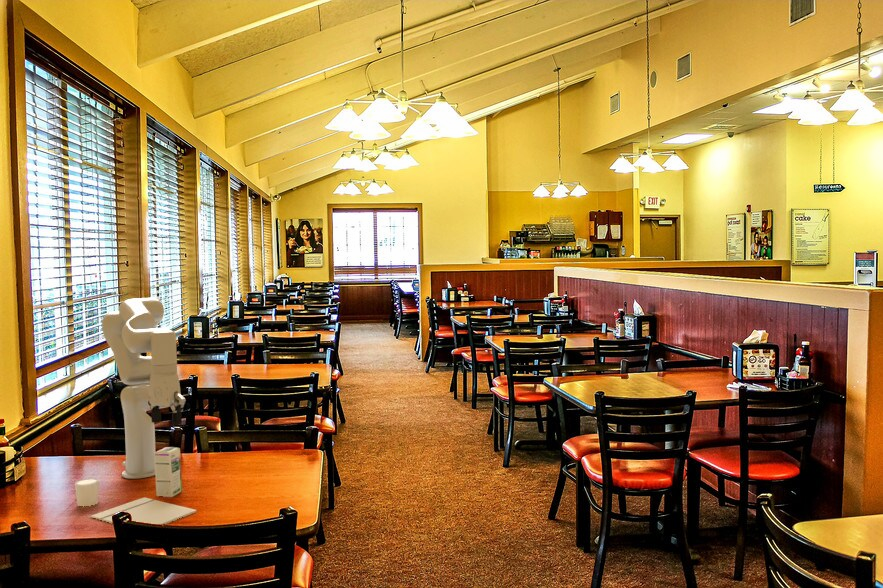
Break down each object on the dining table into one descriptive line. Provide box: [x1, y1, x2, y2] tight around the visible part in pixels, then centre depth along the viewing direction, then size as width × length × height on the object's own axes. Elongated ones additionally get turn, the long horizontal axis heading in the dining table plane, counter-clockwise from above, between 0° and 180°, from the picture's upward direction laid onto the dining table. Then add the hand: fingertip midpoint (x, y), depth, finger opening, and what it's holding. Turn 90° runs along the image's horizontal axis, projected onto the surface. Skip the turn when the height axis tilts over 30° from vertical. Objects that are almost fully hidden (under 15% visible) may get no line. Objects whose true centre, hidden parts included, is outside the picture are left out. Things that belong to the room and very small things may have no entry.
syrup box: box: [154, 446, 183, 498], centre depth 228 cm, size 6×6×14 cm
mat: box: [90, 496, 197, 525], centre depth 210 cm, size 24×18×1 cm
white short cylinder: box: [74, 478, 100, 508], centre depth 220 cm, size 7×7×7 cm
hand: (166, 423), depth 227 cm, fingers open, 9 cm apart
